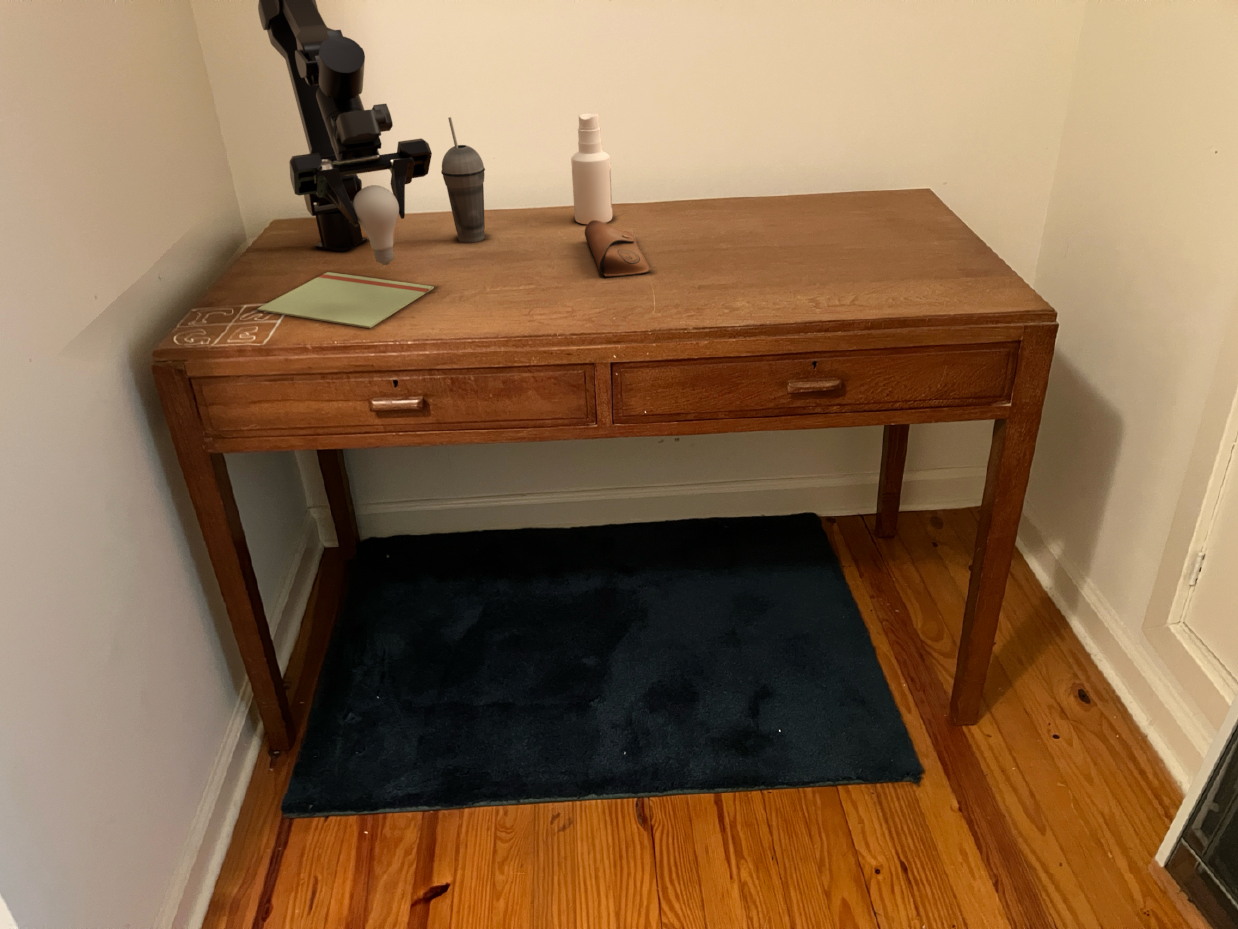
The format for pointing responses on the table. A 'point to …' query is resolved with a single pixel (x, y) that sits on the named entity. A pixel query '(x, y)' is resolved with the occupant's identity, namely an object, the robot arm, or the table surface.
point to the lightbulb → (378, 219)
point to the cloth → (347, 299)
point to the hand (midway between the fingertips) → (380, 221)
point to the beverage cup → (465, 189)
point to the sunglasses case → (615, 250)
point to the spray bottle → (591, 174)
